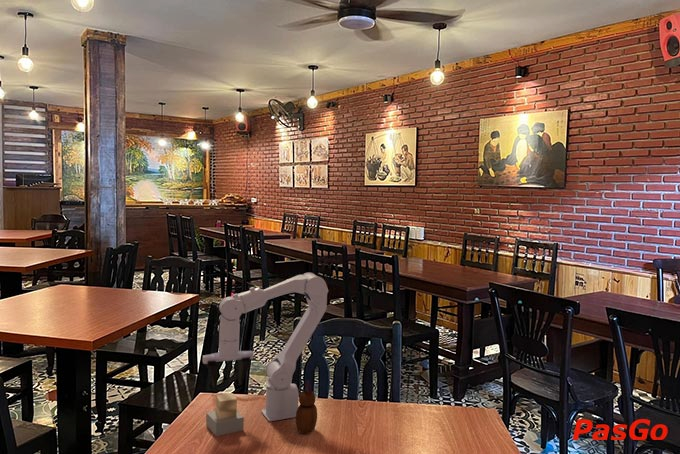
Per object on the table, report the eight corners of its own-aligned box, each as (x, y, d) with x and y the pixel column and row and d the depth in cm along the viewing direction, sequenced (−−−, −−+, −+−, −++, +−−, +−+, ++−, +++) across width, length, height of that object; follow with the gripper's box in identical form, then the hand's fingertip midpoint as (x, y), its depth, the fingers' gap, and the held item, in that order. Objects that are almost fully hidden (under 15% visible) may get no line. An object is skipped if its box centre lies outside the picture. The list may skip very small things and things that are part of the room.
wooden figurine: (313, 437, 140) (314, 383, 140) (292, 434, 141) (294, 381, 141) (318, 426, 147) (320, 375, 146) (299, 424, 148) (301, 373, 147)
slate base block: (232, 420, 150) (233, 407, 150) (243, 431, 143) (243, 417, 143) (206, 426, 146) (206, 412, 145) (215, 437, 139) (216, 423, 139)
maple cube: (232, 410, 148) (232, 393, 147) (236, 416, 143) (236, 399, 143) (215, 412, 146) (215, 395, 145) (219, 419, 141) (219, 401, 141)
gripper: (249, 333, 155) (247, 377, 156) (200, 337, 148) (199, 383, 149) (256, 339, 149) (254, 385, 149) (206, 343, 142) (204, 391, 143)
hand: (227, 385), depth 149 cm, fingers open, 7 cm apart
